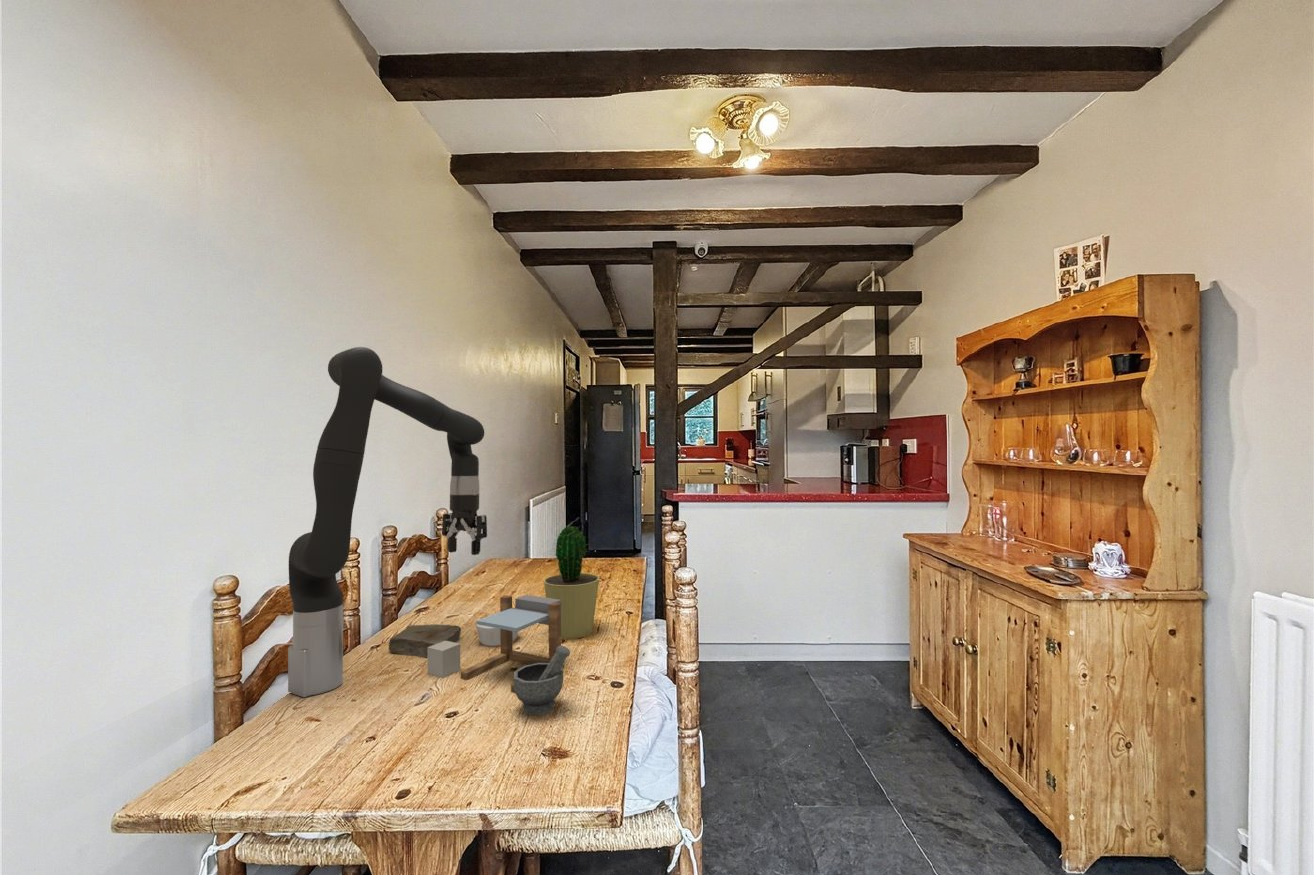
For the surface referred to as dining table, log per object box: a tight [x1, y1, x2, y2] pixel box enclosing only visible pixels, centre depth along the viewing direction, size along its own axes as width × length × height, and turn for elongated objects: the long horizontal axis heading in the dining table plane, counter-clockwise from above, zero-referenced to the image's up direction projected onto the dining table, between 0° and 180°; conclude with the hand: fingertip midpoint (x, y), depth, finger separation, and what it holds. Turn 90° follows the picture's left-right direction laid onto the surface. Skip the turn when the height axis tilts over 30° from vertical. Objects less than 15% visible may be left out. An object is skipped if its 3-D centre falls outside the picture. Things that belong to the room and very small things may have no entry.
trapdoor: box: [476, 594, 562, 633], centre depth 125 cm, size 16×12×5 cm
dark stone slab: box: [388, 623, 462, 659], centre depth 140 cm, size 17×15×4 cm
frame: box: [460, 594, 565, 693], centre depth 122 cm, size 15×17×15 cm
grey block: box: [426, 641, 461, 678], centre depth 124 cm, size 5×5×6 cm
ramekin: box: [475, 623, 519, 647], centre depth 144 cm, size 11×11×5 cm
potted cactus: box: [543, 525, 600, 640], centre depth 150 cm, size 15×15×30 cm
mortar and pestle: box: [513, 644, 571, 716], centre depth 105 cm, size 11×9×12 cm
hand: (463, 553), depth 144 cm, fingers open, 8 cm apart
